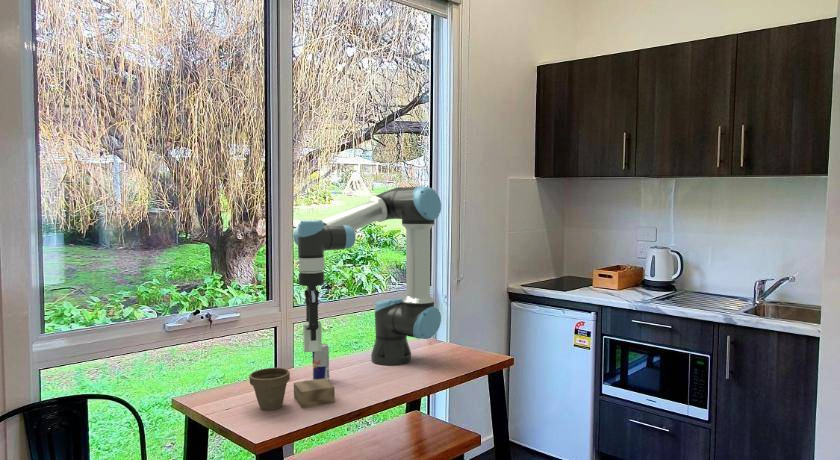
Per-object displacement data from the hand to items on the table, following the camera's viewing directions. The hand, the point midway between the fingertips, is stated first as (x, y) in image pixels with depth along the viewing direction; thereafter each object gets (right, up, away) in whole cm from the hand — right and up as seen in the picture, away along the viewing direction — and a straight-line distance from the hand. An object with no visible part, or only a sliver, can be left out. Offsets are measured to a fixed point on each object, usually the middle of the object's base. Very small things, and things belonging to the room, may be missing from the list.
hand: (312, 348), depth 179 cm
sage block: (0, 0, 0) cm, 0 cm away
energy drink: (-1, -15, +20) cm, 25 cm away
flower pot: (-12, -16, -4) cm, 21 cm away
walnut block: (0, -16, +1) cm, 16 cm away
